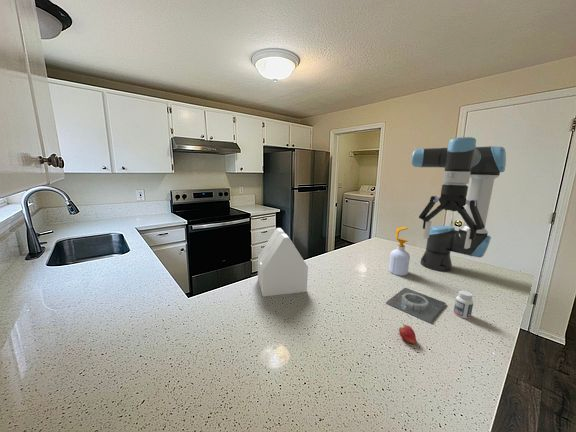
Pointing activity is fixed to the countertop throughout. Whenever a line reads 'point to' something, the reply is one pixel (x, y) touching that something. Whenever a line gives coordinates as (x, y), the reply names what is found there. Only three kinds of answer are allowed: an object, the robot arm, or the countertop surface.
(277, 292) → the white toy house
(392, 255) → the soap bottle
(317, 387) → the countertop surface
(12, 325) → the countertop surface
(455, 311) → the pill bottle
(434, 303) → the duct plate
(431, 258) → the robot arm
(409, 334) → the fruit
